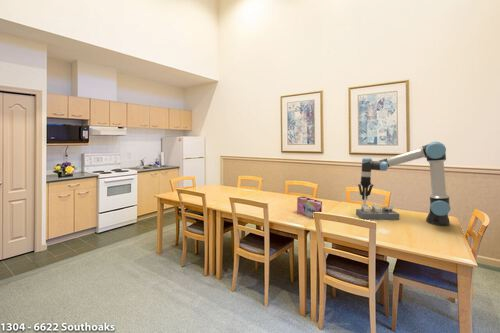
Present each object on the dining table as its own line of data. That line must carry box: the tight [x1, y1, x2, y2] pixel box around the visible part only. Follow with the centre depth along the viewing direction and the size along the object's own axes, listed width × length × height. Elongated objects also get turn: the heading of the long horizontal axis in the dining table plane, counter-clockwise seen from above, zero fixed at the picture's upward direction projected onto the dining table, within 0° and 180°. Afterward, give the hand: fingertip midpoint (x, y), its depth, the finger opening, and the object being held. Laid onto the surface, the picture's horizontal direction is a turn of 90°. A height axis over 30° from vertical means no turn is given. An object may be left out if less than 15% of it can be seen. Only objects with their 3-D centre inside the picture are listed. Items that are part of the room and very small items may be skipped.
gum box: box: [296, 196, 323, 219], centre depth 226 cm, size 24×8×14 cm, turn 33°
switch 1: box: [360, 203, 372, 212], centre depth 220 cm, size 5×9×2 cm, turn 179°
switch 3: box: [381, 205, 394, 210], centre depth 220 cm, size 5×9×2 cm, turn 179°
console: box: [355, 206, 400, 221], centre depth 219 cm, size 30×14×8 cm, turn 89°
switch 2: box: [371, 203, 382, 212], centre depth 220 cm, size 5×9×2 cm, turn 179°
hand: (364, 203), depth 223 cm, fingers closed
